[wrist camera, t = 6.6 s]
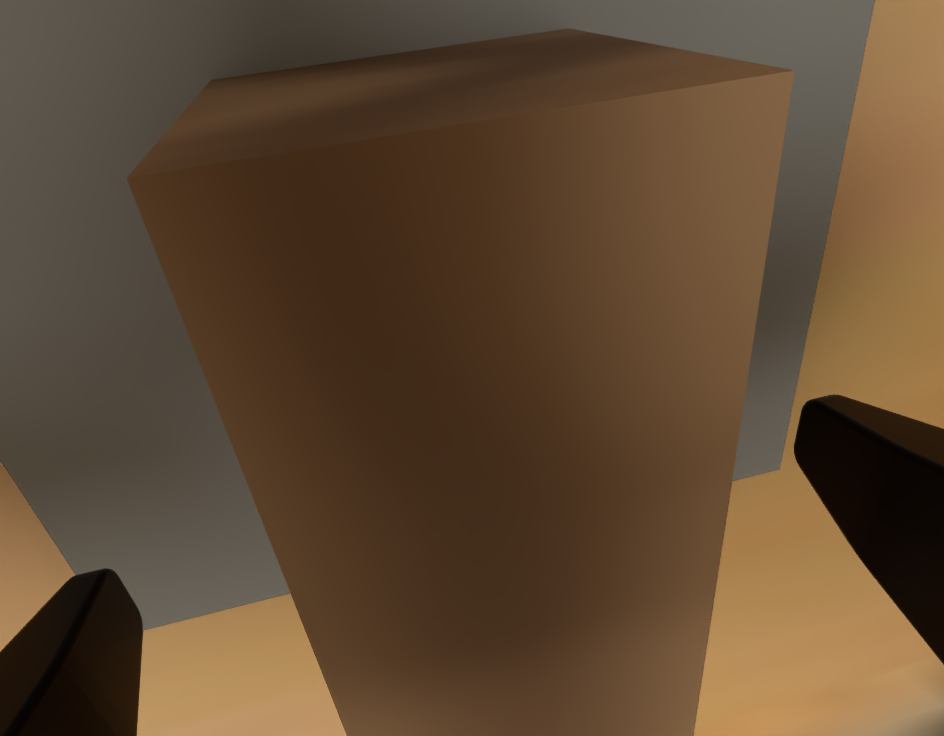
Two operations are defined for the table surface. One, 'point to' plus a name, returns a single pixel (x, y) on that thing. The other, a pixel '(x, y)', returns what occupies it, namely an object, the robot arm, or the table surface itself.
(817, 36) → the board
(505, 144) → the tan rectangular box
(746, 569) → the table surface
